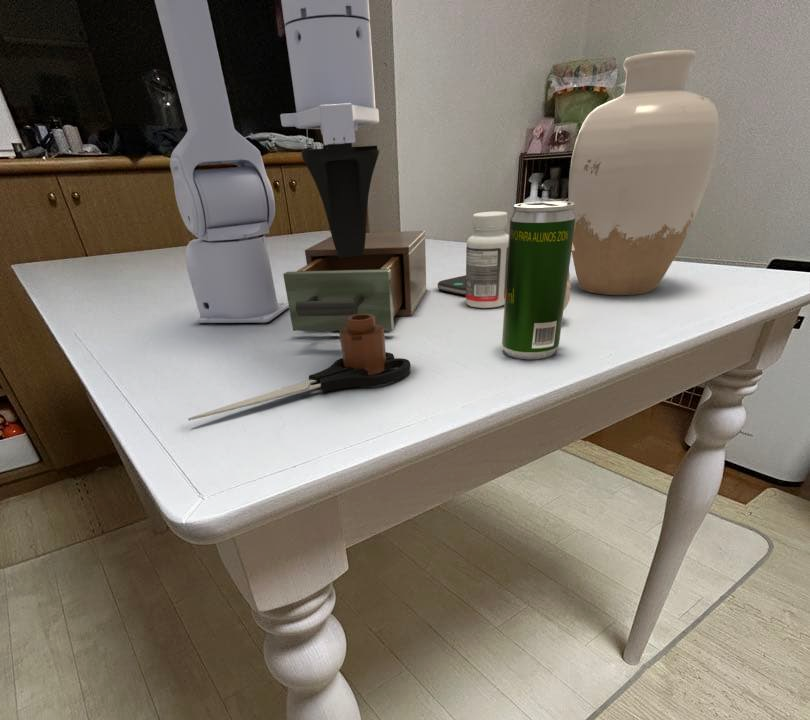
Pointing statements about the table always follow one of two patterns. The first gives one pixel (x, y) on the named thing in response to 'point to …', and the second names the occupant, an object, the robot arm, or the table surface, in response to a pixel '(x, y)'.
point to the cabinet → (391, 243)
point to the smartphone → (454, 285)
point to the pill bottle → (487, 260)
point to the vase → (640, 175)
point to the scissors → (329, 382)
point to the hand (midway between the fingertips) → (350, 255)
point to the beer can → (537, 277)
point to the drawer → (345, 291)
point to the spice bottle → (363, 343)
